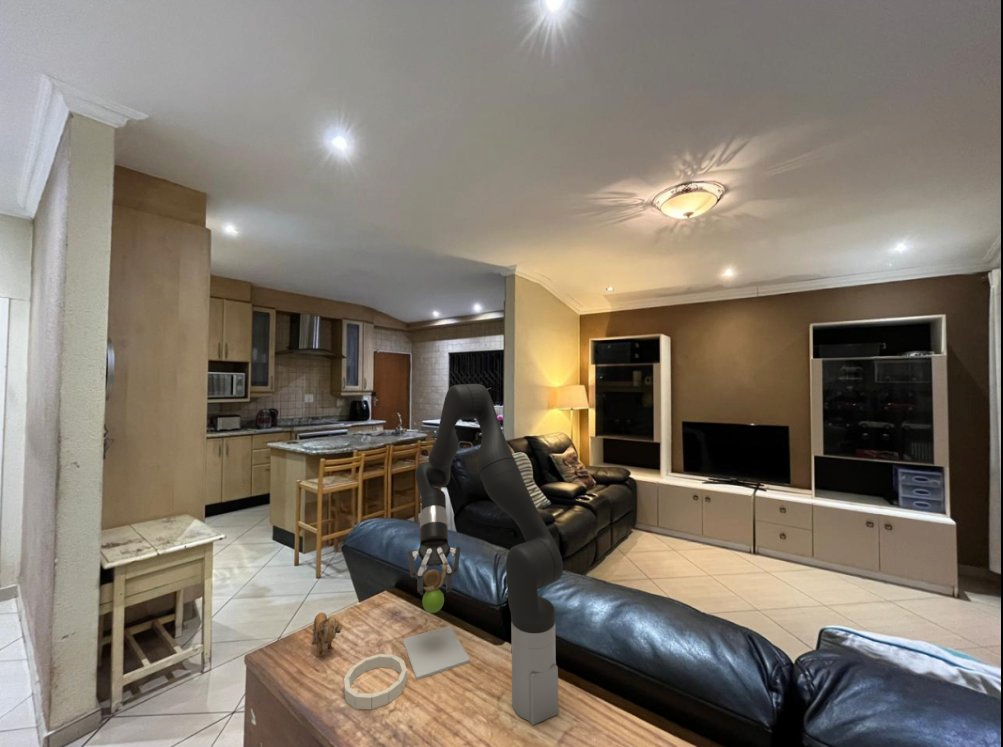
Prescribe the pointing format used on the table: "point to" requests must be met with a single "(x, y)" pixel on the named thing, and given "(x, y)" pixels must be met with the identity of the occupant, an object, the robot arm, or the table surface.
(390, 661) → the ceramic ring
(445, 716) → the table surface
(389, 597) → the table surface
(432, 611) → the snail figurine
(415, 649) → the rubber mat
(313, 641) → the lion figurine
